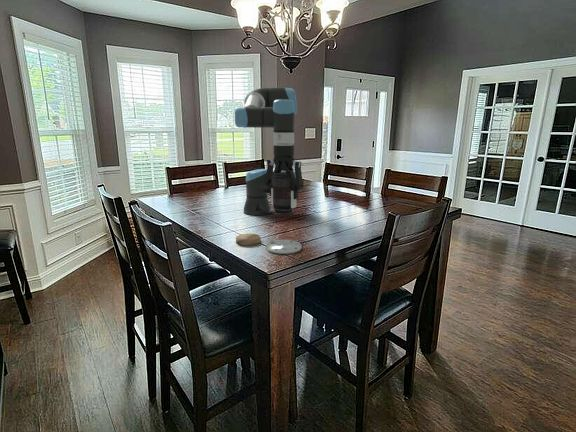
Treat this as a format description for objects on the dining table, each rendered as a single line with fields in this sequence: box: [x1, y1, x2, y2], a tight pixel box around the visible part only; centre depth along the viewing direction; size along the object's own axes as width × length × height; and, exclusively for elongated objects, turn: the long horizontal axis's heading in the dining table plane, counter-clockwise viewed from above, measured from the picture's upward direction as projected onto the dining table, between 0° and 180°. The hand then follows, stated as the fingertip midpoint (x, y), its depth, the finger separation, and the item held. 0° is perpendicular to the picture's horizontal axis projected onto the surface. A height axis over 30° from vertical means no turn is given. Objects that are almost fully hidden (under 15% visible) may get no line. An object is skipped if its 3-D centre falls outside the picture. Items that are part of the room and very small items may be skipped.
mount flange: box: [265, 239, 303, 256], centre depth 133 cm, size 14×14×1 cm
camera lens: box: [272, 172, 294, 215], centre depth 127 cm, size 8×8×15 cm
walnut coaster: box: [235, 233, 262, 247], centre depth 139 cm, size 10×10×2 cm
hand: (283, 206), depth 129 cm, fingers closed on camera lens, 8 cm apart
